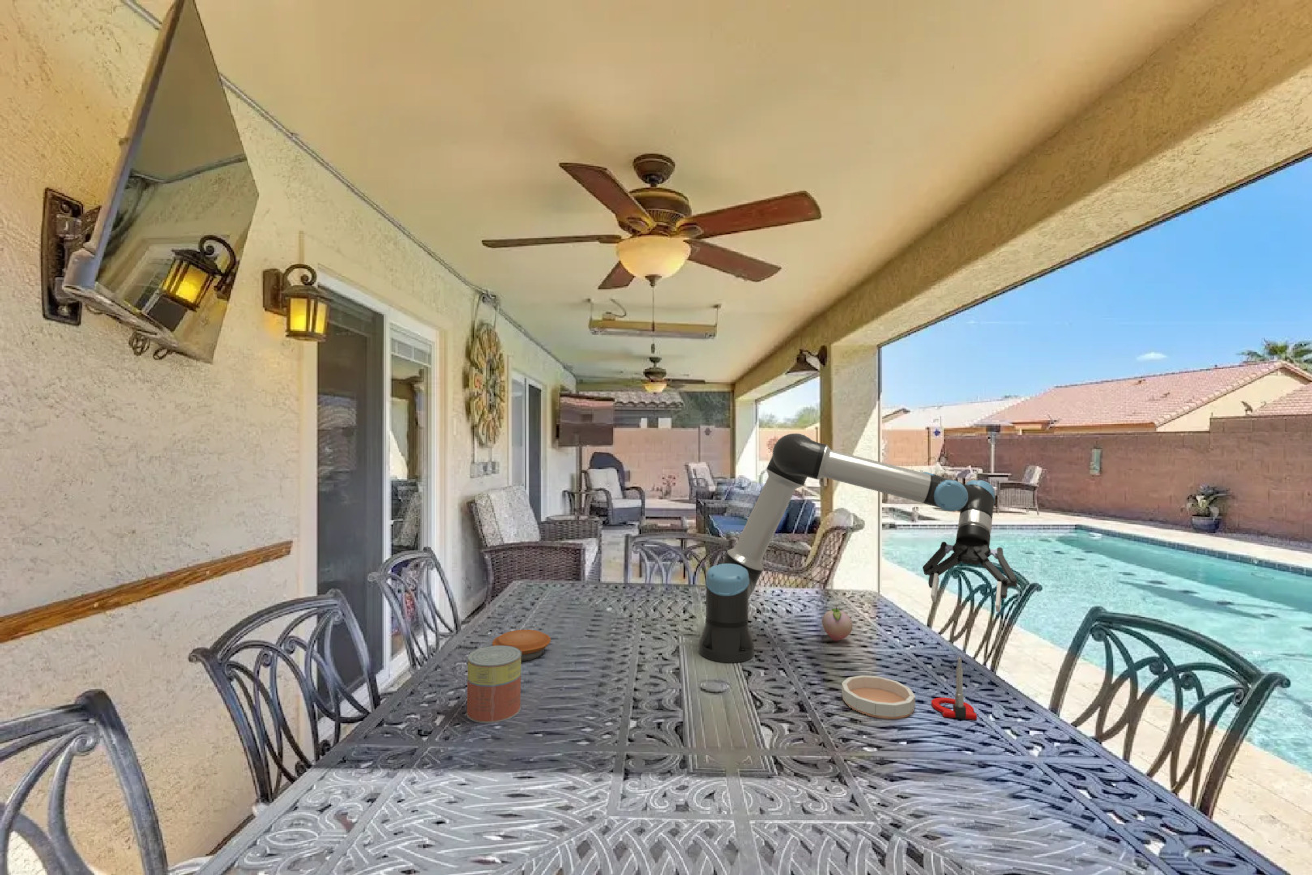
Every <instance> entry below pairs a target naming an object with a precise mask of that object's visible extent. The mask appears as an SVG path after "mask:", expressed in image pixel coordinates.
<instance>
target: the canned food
mask: <svg viewBox="0 0 1312 875" xmlns="http://www.w3.org/2000/svg"><path fill="white" fill-rule="evenodd" d="M521 655H522V652H521V651H520V650H519V649H518V648H515V647H512V646H504V645H497V646H493V645H490V646H484V647H481V648H477V649H475V650H473V651H471V652H470V653H469V654H468V655H467V658H466V660H467V675H466V676H467V680H466V683H467V684H466V686H467V687H466V688H467V689H466V696H467V697H466V712H465V713H466V717H467V718H468V719H469V720H470V721H472V722H476V723H479V724H480V723H482V724H494V723H500V722H505V721H507V720H510V719H512V718H514V717H515V716H517V715H519V713H520V712H521V709H522V708H521V707H522V706H521V692H522V690H521V689H522V684H521V683H522V680H521V679H522V678H521V677H522V661H521Z"/></svg>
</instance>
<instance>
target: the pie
mask: <svg viewBox="0 0 1312 875" xmlns="http://www.w3.org/2000/svg"><path fill="white" fill-rule="evenodd" d="M551 641H552V639H551V637H550V635H549V634H547V633H544V632H542V631H540V630H539V631H538V630H534V629H516V630H512V631H511V630H510V631H507V632H504V633H502V634H501V635H499V636H496V637H495V638H494V639H493V641H492V642H491V643H492V644H491V646H497V645H504V646H512V647H515V648H518V649H519V650H520V651H521V652H522V655H521V662H526V661H531V660H534V659H537V658H539V657H540V656H541V655H542V654H543V653H544V651H545V649H546V648H547V647H548V646H549V644H550V643H551Z"/></svg>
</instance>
